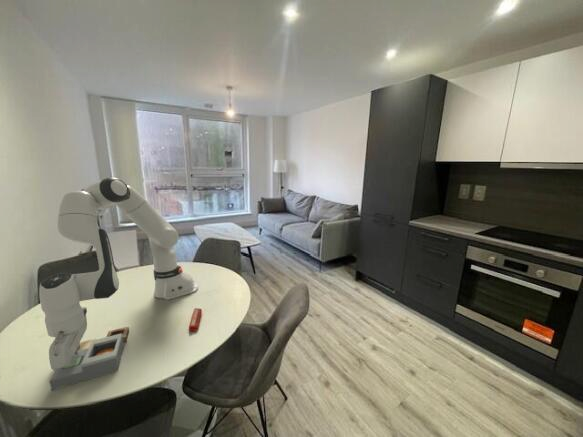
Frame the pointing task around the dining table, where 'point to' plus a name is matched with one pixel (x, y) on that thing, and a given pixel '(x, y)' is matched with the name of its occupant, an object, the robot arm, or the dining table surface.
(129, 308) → the dining table surface
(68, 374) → the grey boxy piece
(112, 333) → the stand
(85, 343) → the pad
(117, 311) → the dining table surface
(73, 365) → the on button
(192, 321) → the candy bar
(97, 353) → the plunger
